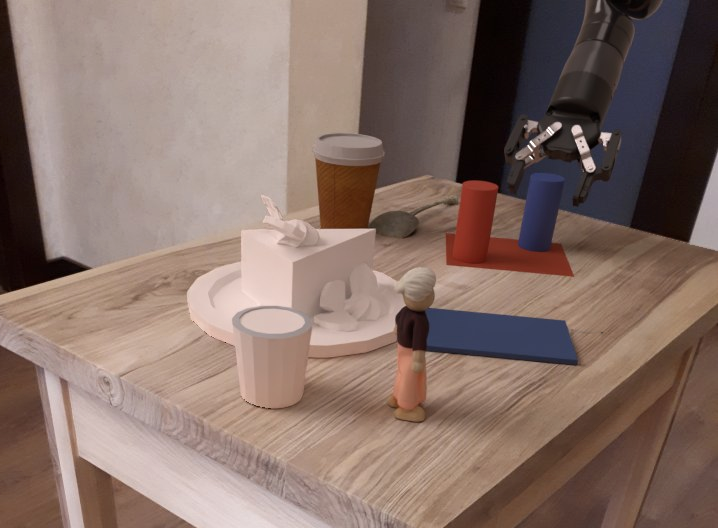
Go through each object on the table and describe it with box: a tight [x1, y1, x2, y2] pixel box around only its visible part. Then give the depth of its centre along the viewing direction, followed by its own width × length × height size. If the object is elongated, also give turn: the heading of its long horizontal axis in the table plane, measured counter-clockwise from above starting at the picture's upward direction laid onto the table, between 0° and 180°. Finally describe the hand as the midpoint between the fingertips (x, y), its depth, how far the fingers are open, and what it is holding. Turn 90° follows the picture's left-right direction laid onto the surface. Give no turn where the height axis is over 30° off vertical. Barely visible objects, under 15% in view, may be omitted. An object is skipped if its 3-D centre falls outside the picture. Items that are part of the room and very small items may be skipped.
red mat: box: [445, 232, 575, 278], centre depth 105 cm, size 16×13×1 cm
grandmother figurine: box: [386, 266, 437, 423], centre depth 67 cm, size 8×4×13 cm, turn 21°
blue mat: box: [425, 307, 579, 366], centre depth 84 cm, size 16×10×1 cm, turn 84°
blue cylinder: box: [518, 172, 566, 252], centre depth 105 cm, size 4×4×9 cm
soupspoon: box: [369, 195, 459, 239], centre depth 115 cm, size 22×3×7 cm
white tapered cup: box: [232, 306, 313, 409], centre depth 69 cm, size 7×7×7 cm
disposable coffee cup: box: [311, 132, 386, 229], centre depth 106 cm, size 10×10×12 cm
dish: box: [186, 194, 406, 359], centre depth 84 cm, size 25×25×11 cm
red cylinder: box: [452, 180, 499, 263], centre depth 100 cm, size 4×4×9 cm
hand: (543, 197), depth 104 cm, fingers open, 8 cm apart
